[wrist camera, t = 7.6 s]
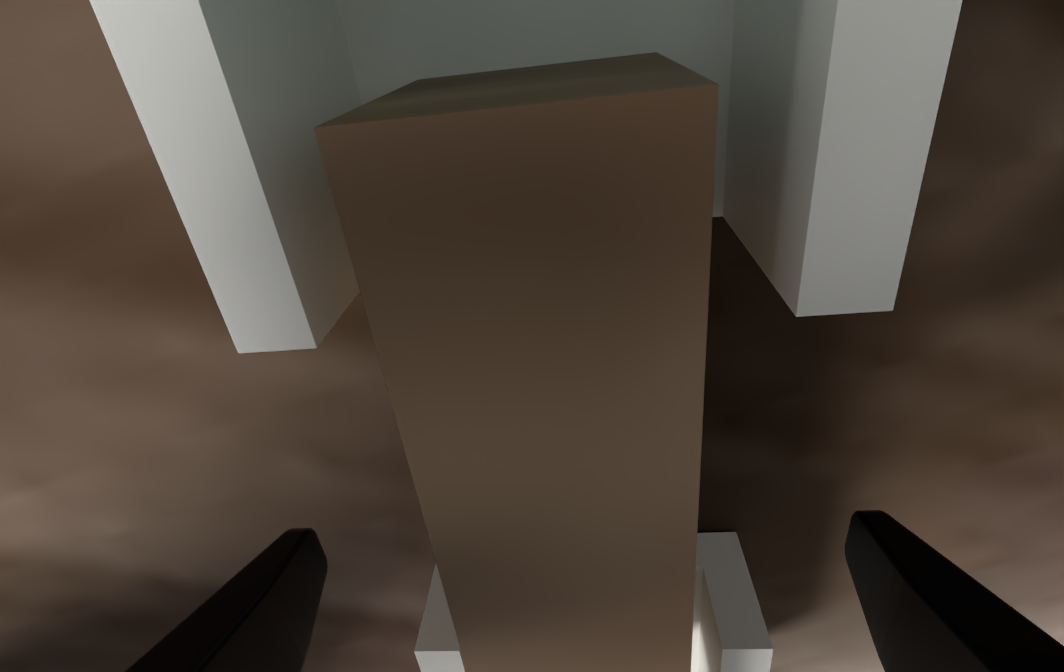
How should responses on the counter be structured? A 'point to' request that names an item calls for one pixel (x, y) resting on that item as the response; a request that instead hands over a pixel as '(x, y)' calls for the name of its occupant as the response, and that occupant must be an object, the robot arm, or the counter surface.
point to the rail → (544, 343)
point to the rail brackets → (523, 41)
